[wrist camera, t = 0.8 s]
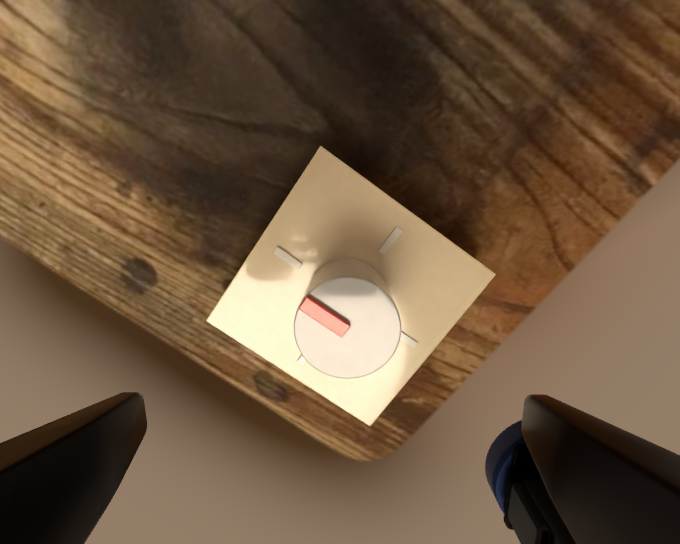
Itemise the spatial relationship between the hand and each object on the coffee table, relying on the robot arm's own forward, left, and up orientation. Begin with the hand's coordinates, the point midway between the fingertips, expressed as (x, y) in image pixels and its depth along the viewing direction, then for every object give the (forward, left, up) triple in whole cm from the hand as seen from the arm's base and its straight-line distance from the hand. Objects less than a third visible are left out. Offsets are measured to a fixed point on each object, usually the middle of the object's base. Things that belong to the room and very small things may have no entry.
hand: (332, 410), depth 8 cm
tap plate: (0, 0, -12) cm, 12 cm away
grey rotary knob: (0, 0, -9) cm, 9 cm away
